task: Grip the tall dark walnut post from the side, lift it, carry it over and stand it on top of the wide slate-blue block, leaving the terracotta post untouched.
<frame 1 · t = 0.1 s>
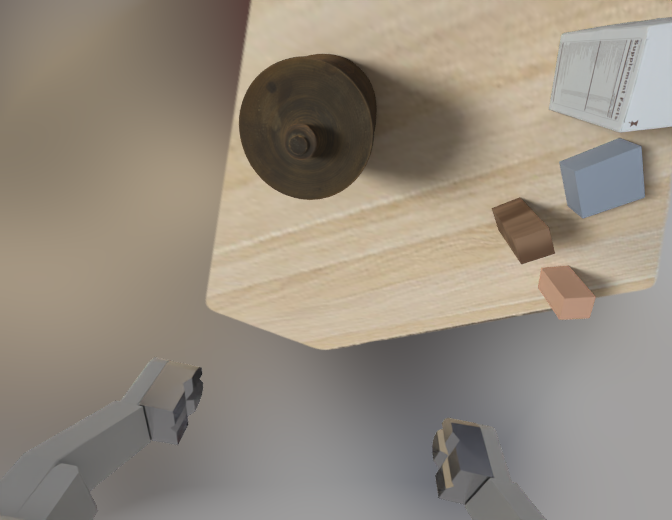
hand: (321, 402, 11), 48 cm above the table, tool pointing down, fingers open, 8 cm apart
wooden container: (327, 110, 51), on the table
terracotta post: (552, 276, 62), on the table
supplement box: (590, 68, 45), on the table
walnut post: (508, 214, 57), on the table
slate block: (591, 173, 52), on the table
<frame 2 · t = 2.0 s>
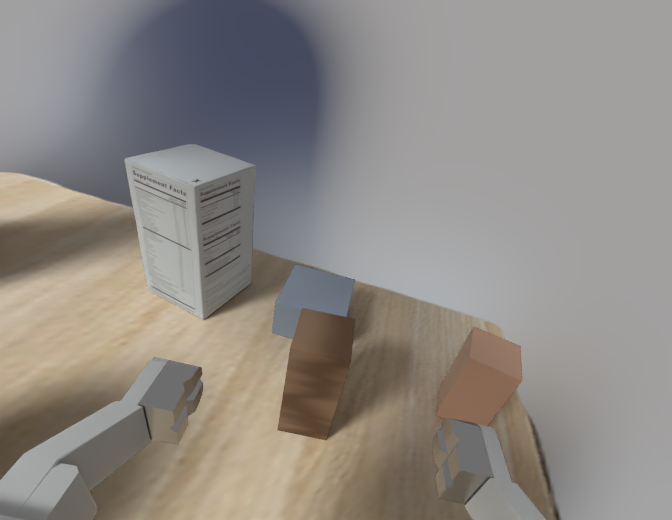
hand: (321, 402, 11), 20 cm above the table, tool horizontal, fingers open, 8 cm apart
terracotta post: (458, 407, 36), on the table
supplement box: (201, 287, 44), on the table
walnut post: (306, 412, 32), on the table
slate block: (312, 320, 43), on the table
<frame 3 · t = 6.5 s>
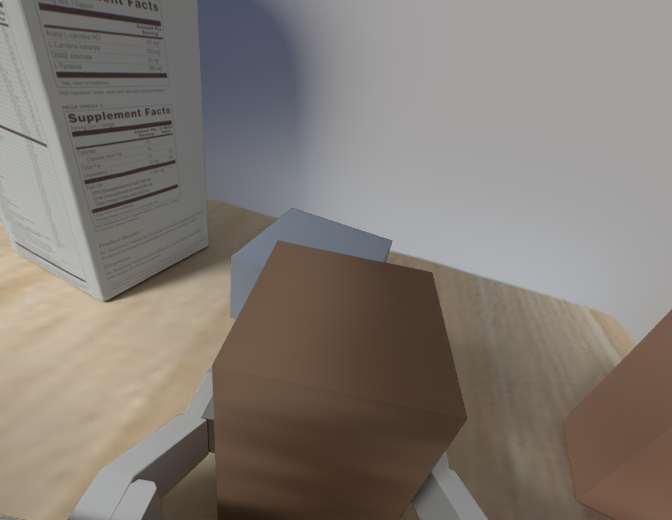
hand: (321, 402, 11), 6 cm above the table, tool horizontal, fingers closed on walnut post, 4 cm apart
terracotta post: (616, 479, 17), on the table
supplement box: (120, 250, 26), on the table
walnut post: (296, 509, 14), on the table, touching gripper
slate block: (310, 305, 24), on the table
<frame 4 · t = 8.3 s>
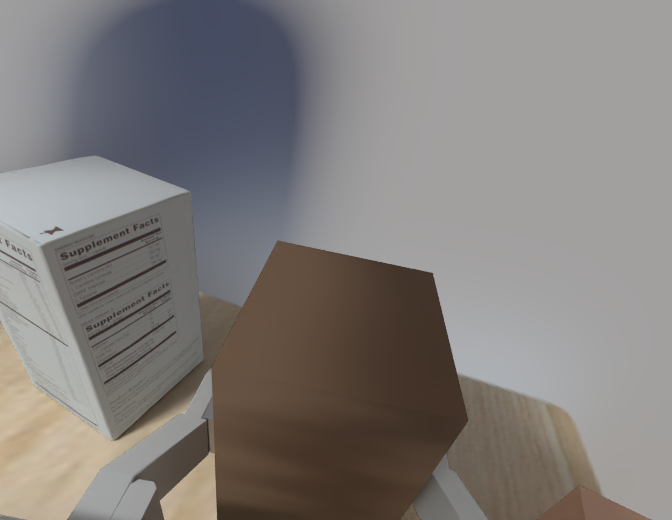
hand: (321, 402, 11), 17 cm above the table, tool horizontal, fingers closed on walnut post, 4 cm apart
supplement box: (125, 372, 29), on the table
walnut post: (296, 510, 14), point 11 cm above the table, touching gripper
when the fingers open (12 cm above the table, at t = 10.3 s): walnut post drops 2 cm, resting on slate block.
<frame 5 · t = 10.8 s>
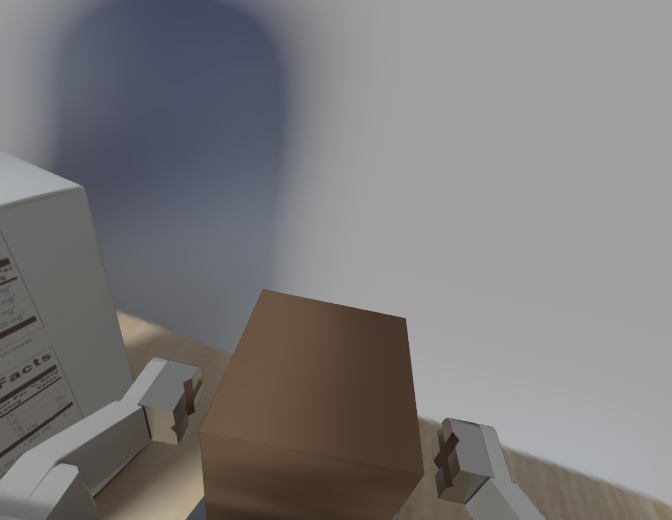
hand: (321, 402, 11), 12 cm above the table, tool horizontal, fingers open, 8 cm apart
supplement box: (20, 470, 19), on the table
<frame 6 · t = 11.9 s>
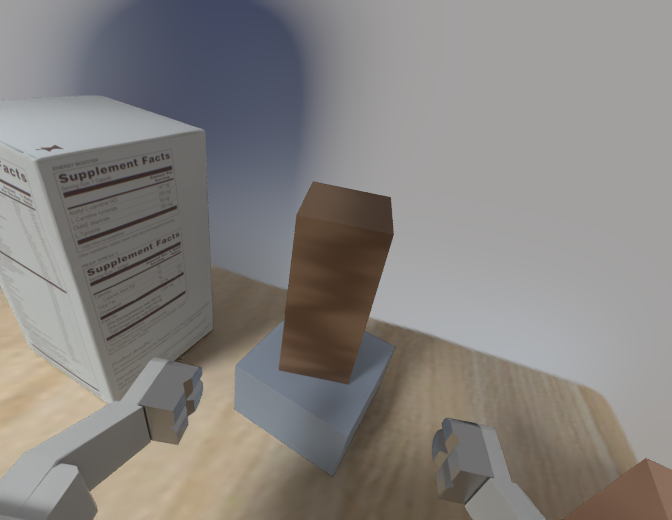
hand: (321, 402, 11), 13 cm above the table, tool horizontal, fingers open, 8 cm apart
supplement box: (129, 339, 27), on the table
walnut post: (318, 350, 23), point 5 cm above the table, touching slate block
slate block: (311, 398, 26), on the table, touching walnut post
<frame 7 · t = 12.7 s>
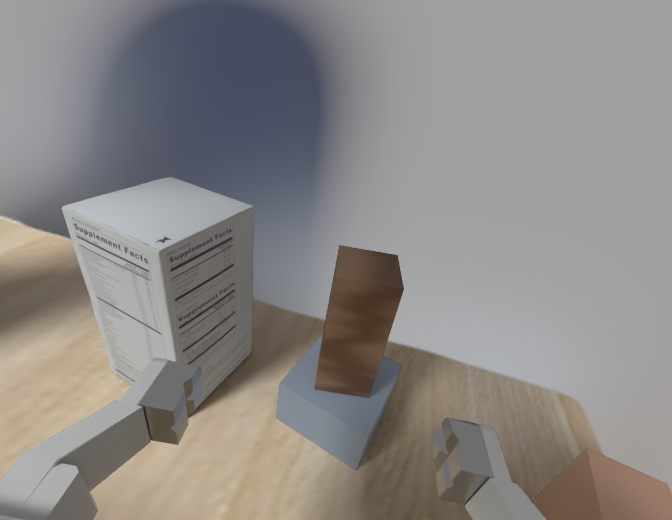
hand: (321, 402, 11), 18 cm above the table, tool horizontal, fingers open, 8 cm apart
supplement box: (186, 362, 33), on the table
walnut post: (342, 371, 29), point 5 cm above the table
slate block: (335, 409, 32), on the table
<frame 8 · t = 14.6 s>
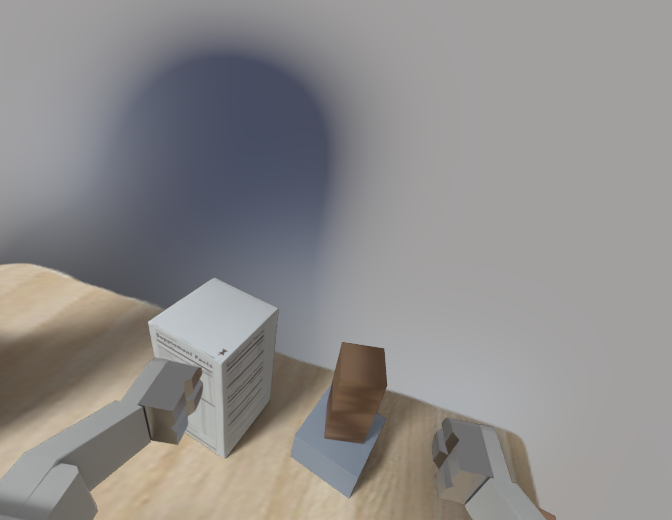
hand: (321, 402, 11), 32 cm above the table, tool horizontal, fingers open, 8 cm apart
supplement box: (220, 410, 43), on the table
walnut post: (344, 422, 40), point 5 cm above the table, touching slate block
slate block: (335, 448, 42), on the table, touching walnut post
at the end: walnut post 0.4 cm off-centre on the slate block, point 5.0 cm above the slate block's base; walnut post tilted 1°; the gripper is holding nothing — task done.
